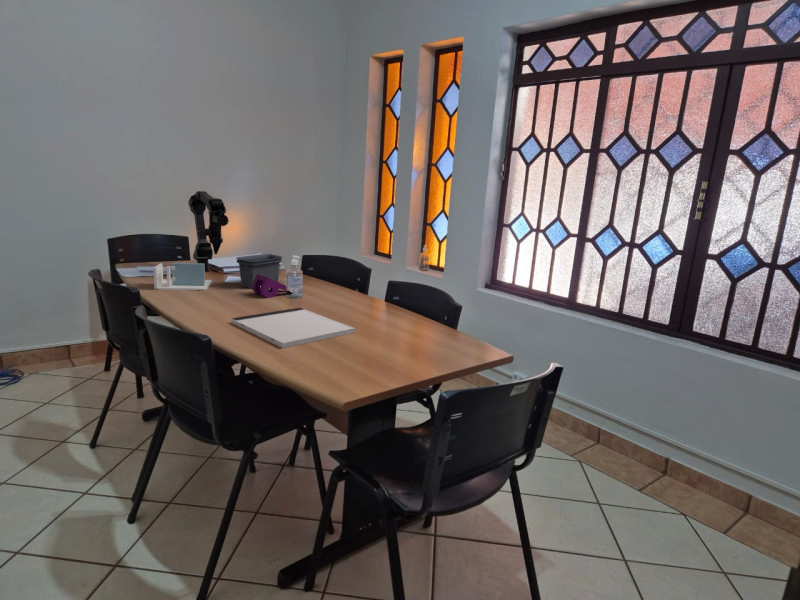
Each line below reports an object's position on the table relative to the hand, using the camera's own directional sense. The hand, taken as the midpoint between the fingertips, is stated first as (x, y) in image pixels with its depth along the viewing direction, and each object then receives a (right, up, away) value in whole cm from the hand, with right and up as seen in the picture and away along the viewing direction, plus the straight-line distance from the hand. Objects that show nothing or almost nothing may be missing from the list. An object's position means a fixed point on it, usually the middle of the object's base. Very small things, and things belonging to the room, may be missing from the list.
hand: (215, 254), depth 272 cm
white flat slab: (+54, -35, -73) cm, 98 cm away
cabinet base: (-8, -17, -20) cm, 27 cm away
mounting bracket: (+36, -21, -24) cm, 49 cm away
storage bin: (+24, -16, -8) cm, 30 cm away
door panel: (-5, -16, -23) cm, 29 cm away
